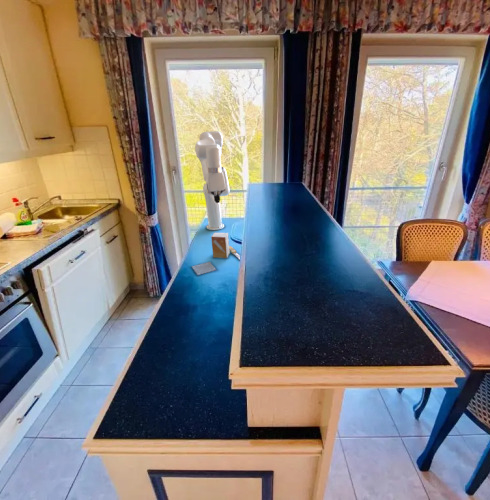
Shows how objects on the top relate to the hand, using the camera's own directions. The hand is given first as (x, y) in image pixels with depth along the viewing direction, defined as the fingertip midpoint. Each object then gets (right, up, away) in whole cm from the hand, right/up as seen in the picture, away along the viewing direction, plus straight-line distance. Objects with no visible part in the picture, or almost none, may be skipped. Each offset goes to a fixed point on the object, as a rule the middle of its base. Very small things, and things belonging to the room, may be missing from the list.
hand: (217, 202), depth 163 cm
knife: (+10, -30, -3) cm, 32 cm away
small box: (+3, -31, -4) cm, 32 cm away
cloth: (-5, -38, -17) cm, 41 cm away
